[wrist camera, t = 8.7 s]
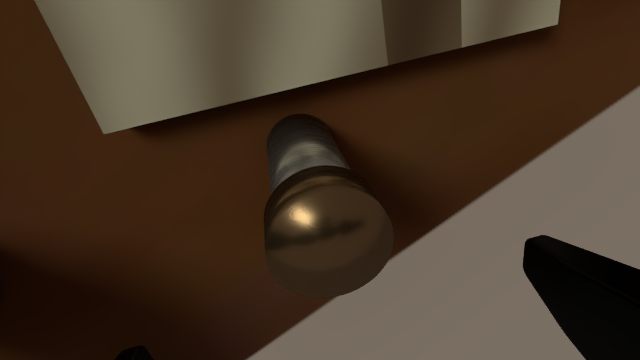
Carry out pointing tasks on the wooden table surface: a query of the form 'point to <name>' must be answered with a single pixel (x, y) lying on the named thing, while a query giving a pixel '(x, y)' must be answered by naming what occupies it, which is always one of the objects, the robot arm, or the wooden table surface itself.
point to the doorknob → (320, 214)
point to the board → (255, 45)
